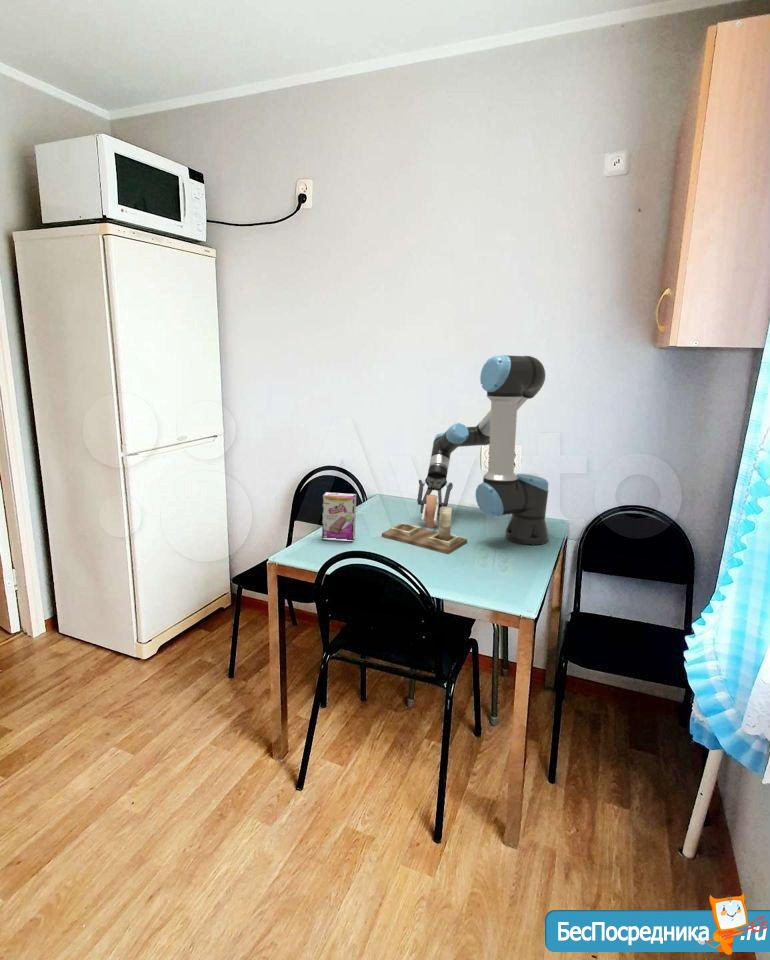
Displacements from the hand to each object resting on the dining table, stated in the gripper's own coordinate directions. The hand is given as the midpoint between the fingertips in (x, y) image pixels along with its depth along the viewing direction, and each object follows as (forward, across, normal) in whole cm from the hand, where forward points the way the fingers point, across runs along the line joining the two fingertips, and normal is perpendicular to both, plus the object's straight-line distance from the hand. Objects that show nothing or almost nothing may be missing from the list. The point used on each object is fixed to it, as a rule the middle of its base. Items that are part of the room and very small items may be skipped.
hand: (428, 521), depth 209 cm
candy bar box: (+17, +28, +12) cm, 35 cm away
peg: (0, 0, -5) cm, 5 cm away
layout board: (+10, 0, +6) cm, 12 cm away
